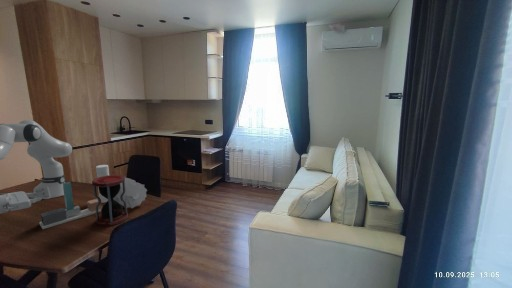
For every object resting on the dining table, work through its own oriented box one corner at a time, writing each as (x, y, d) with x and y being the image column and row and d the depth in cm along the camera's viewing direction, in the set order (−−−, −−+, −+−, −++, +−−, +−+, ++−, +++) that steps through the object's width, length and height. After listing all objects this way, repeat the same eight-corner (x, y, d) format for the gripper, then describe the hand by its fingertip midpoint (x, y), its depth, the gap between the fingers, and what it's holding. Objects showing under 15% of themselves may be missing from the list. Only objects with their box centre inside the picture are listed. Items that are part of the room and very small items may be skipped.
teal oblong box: (45, 223, 130) (40, 189, 127) (44, 220, 132) (39, 187, 129) (80, 212, 142) (77, 181, 139) (78, 211, 145) (75, 180, 141)
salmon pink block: (91, 211, 146) (90, 203, 145) (88, 209, 149) (87, 201, 148) (102, 208, 150) (101, 200, 150) (99, 206, 154) (98, 198, 153)
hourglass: (98, 216, 143) (93, 176, 139) (128, 211, 151) (125, 173, 146) (94, 228, 129) (89, 185, 125) (127, 222, 137) (124, 181, 132)
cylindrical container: (105, 203, 161) (102, 167, 157) (96, 202, 163) (93, 167, 158) (113, 199, 168) (110, 165, 164) (105, 198, 169) (102, 164, 165)
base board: (42, 229, 128) (42, 227, 128) (39, 224, 133) (39, 222, 132) (104, 210, 151) (104, 208, 150) (100, 206, 156) (100, 205, 155)
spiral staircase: (126, 203, 172) (144, 211, 157) (100, 200, 158) (117, 208, 143) (134, 178, 176) (153, 184, 161) (110, 173, 162) (128, 179, 147)
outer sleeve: (44, 225, 129) (42, 216, 128) (42, 222, 132) (40, 213, 131) (66, 219, 137) (65, 210, 136) (64, 216, 140) (63, 207, 139)
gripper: (3, 203, 110) (42, 195, 121) (-1, 193, 123) (35, 186, 134) (5, 216, 111) (44, 206, 122) (1, 204, 124) (36, 196, 135)
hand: (39, 196), depth 128 cm, fingers open, 8 cm apart
